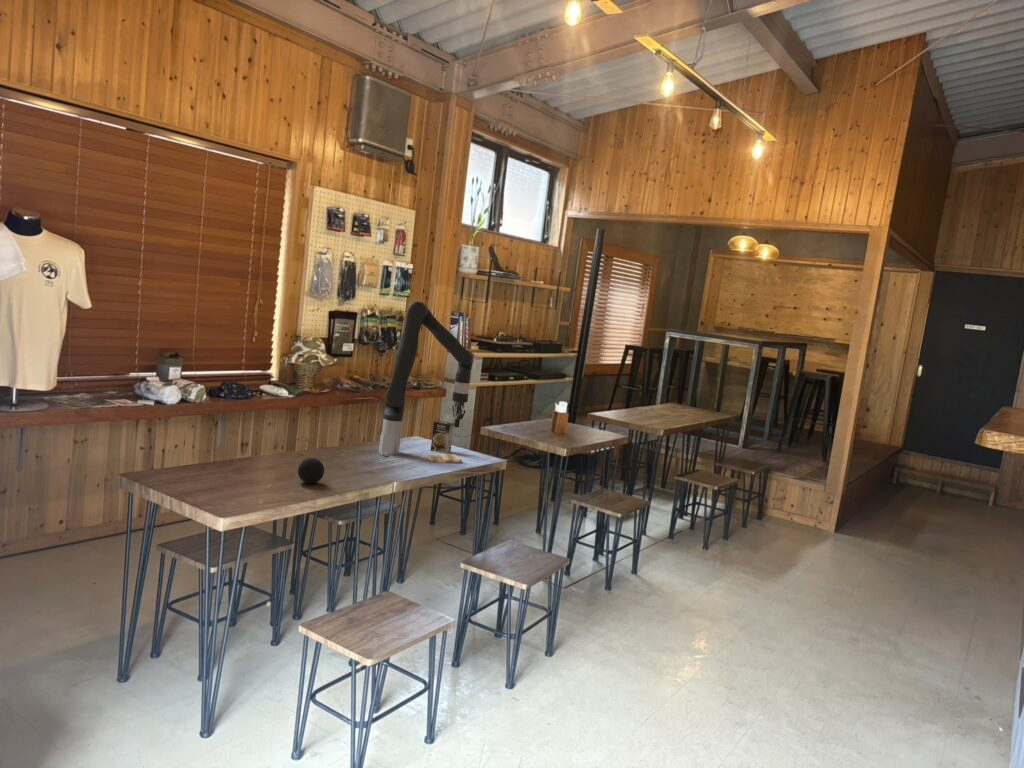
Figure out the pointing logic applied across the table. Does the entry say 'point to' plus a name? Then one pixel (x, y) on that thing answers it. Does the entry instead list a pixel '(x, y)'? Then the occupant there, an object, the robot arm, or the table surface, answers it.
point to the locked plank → (433, 459)
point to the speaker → (311, 470)
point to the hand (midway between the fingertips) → (456, 427)
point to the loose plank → (449, 458)
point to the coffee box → (442, 436)
